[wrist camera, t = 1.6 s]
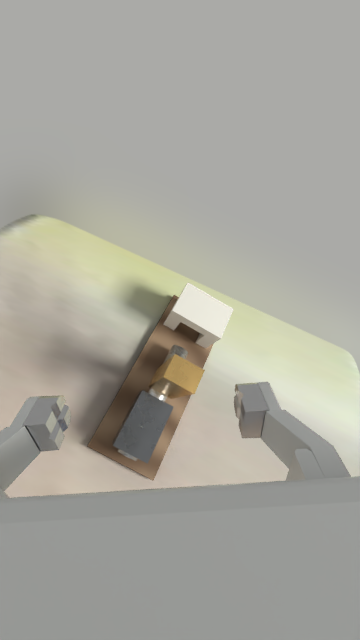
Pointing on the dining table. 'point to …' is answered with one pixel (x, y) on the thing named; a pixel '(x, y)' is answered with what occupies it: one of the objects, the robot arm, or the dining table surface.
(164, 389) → the block rod assembly
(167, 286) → the dining table surface
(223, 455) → the dining table surface
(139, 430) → the dark gray block
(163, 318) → the walnut base board
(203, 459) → the dining table surface
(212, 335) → the cream socket block
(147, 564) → the robot arm
